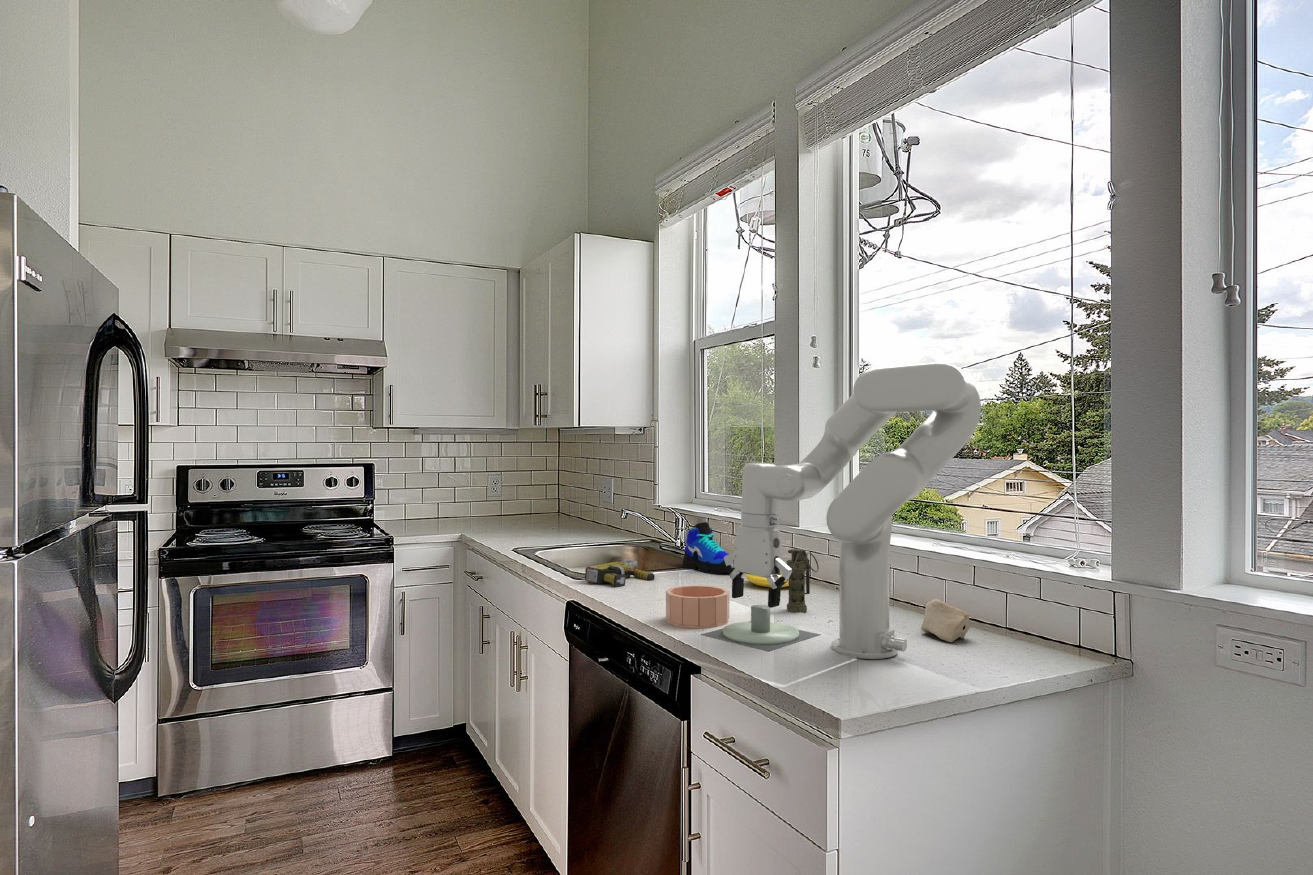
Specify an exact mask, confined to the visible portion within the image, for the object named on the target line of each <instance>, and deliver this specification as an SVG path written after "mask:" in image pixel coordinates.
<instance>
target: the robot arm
mask: <svg viewBox="0 0 1313 875" xmlns="http://www.w3.org/2000/svg"><path fill="white" fill-rule="evenodd" d="M978 390H979V389H978V388H977V384H976V383H975V380H974V379H973V378H972V377H971V375H970V374H969V373H968V372H967V371H965V370H964V369H962V368H961V367H958V366H955V365H953V364H950V363H947V362H927V363H926V362H925V363H917V364H916V363H915V364H904V365H891V366H890V365H888V366H875V367H871V368H868V369H866V370H864V371H863V372H862V373H861V374H860V375H859V376H858V377H857V378H856V380H855V381H854V384H853V389H852V392H853V393H852V394H851V395H850V396H849V397H848V398H847V399H846V400H845V402H844V403H842V405H840V406H839V408H838V409H837V410H836V411H835V412H834V413H833V414H831V415H830V416H829V418H828V419H827V421H826V422H825V426H824V433H823V436H822V437H821V439H820V441H819V442H818V443H817V445H816V446H815V447H814V448H813V449H812V450H811V451H810V452H809V454H807V455H806V457H804V458H803V459H802V460H800V462H799V463H794V464H784V465H776V464H774V463H769V462H747V463H746V464H745V465H744V467H743V469H742V470H743V471H742V490H741V512H740V525H739V526H738V529H737V533H736V536H735V541H734V549H733V550H734V551H733V552H731V553H728V554H729V555H727V556H725V557H724V560H725V563H726V565H727V567H726V568H727V571H728V572H729V573H728V574H729V578H730V579H731V580H732V581H731V598H732V599H738V598H742V597H743V596H744V589H745V579H744V578H743V576H744V575H746V574H749V575H754V576H759V577H764V578H767V580H768V582H769V584H770V586H771V587H768V590H767V595H768V597H767V606H768V607H770V609H771V608H775V607H776V608H777V607H779V606H780V602H781V592H782V588H784V587H783V586H784V584H785V583H786V582H787V581H788V578H789V577H790V575H791V573H792V569H791V568H790V567H789V566H788V565H787V563H786V562H785V561H784V560H783V558H784V557H783V543H782V542H783V541H782V535H781V534H782V533H781V530H780V529H778V528H777V526H780V525H781V519H780V518H778V501H779V500H780V501H784V502H790V503H792V502H798V501H803V500H805V499H810V498H813V497H814V496H816V495H818V494H819V493H820V492H821V491H823V490H824V489H825V488H826V487H827V485H828V484H830V483H831V482H832V481H833V480H834V479H835V478H837V476H838V475H839V474H840V473H841V472H842V471H843V470H844V469H845V467H846V466H847V465H848V463H849V462H850V461H852V459H853V458H854V457H855V456H856V455H857V453H858V451H859V450H860V449H861V448H862V447H863V446H864V445H865V444H866V443H867V442H868V441H869V440H870V439H871V438H872V437H873V436H874V435H875V434H876V433H877V432H878V431H879V430H880V429H881V428H882V427H884V425H886V424H887V423H888V421H890V419H892V418H893V417H894V416H895V415H896V413H900V412H902V413H903V412H919V411H923V412H924V411H931V413H930V414H929V415H928V417H927V418H926V419H925V420H924V421H923V422H922V423H921V424H919V425H918V426H917V427H916V429H914V430H913V432H912V433H911V434H910V436H908V437H907V438H906V439H905V440H904V441H903V442H902V443H901V444H900V445H899V446H898V447H897V448H896V449H895V450H893V451H889V452H888V451H887V452H884V453H881V454H879V455H878V456H876V457H875V458H874V459H873V460H871V461H870V462H869V463H868V464H867V465H866V466H864V467H863V468H862V470H861V471H859V473H858V474H857V475H856V476H855V477H854V478H853V479H852V480H851V482H849V483H848V484H847V485H846V487H844V488H843V490H842V491H840V493H839V494H838V495H836V497H835V498H834V499H833V500H832V502H831V503H830V505H829V506H828V508H827V512H826V517H825V518H826V519H825V520H826V525H827V529H828V531H829V532H830V535H832V536H833V538H835V540H838V541H839V542H840V548H839V571H838V572H839V638H836V639H834V640H833V641H832V642H831V649H832V650H833V651H834V652H836V653H839V654H841V655H844V656H849V657H855V659H864V660H880V659H888V658H892V657H894V656H896V655H897V654H898V652H903V653H904V652H906V650H907V648H908V640H907V639H906V638H900V637H896V635H895V629H893V628H890V554H891V553H890V552H891V538H892V527H893V526H892V525H893V517H892V516H893V515H894V514H895V513H896V512H897V511H898V510H899V509H900V508H901V507H902V506H903V505H905V503H906V502H908V501H909V500H913V499H914V498H915V497H917V496H918V495H919V494H921V492H922V491H923V490H924V489H925V488H926V487H927V486H928V484H929V483H930V482H931V481H932V480H933V479H934V478H935V477H936V476H937V475H938V474H939V473H940V472H941V471H942V470H943V469H944V468H945V467H946V466H947V465H948V463H949V462H950V461H951V460H952V459H953V458H955V456H956V455H957V454H958V453H959V452H960V451H961V450H962V449H963V447H965V445H966V444H967V443H968V441H970V439H971V438H972V436H973V435H974V433H975V431H976V429H977V426H978V425H979V422H980V418H981V411H982V410H981V409H982V404H981V403H982V402H981V398H980V393H979V391H978ZM733 560H734V565H733ZM781 574H782V575H781ZM779 575H781V577H780V576H779ZM773 577H774V578H773Z"/></svg>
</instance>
